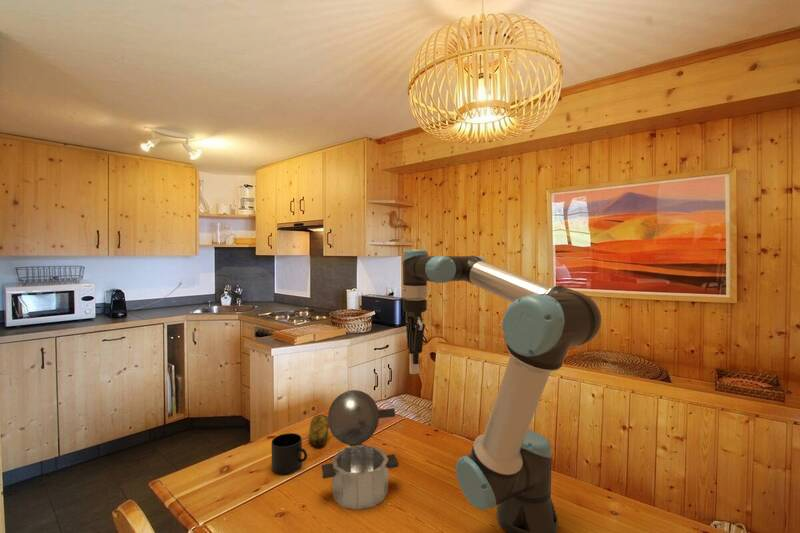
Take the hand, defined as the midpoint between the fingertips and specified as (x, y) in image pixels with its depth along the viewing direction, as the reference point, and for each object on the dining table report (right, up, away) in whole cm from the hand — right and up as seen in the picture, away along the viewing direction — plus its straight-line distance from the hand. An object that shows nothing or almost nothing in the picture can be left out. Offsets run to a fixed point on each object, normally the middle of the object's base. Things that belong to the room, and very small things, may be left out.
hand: (414, 372), depth 119 cm
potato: (-35, -32, +22) cm, 52 cm away
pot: (-16, -33, -8) cm, 37 cm away
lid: (-17, -15, +4) cm, 23 cm away
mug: (-40, -32, +4) cm, 52 cm away
